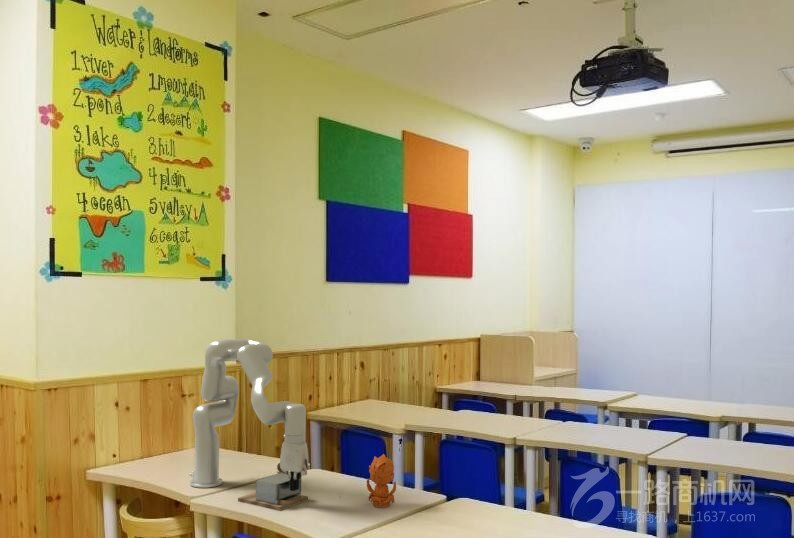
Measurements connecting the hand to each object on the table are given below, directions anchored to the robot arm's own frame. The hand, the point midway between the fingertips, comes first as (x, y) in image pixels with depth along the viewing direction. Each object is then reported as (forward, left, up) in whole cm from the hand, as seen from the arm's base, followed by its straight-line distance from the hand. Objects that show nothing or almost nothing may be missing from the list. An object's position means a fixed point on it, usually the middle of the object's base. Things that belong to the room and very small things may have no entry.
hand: (294, 489), depth 264 cm
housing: (-7, 0, -4) cm, 8 cm away
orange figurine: (+26, +18, -6) cm, 32 cm away
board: (-10, 0, -5) cm, 11 cm away
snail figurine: (-17, +14, -6) cm, 23 cm away
